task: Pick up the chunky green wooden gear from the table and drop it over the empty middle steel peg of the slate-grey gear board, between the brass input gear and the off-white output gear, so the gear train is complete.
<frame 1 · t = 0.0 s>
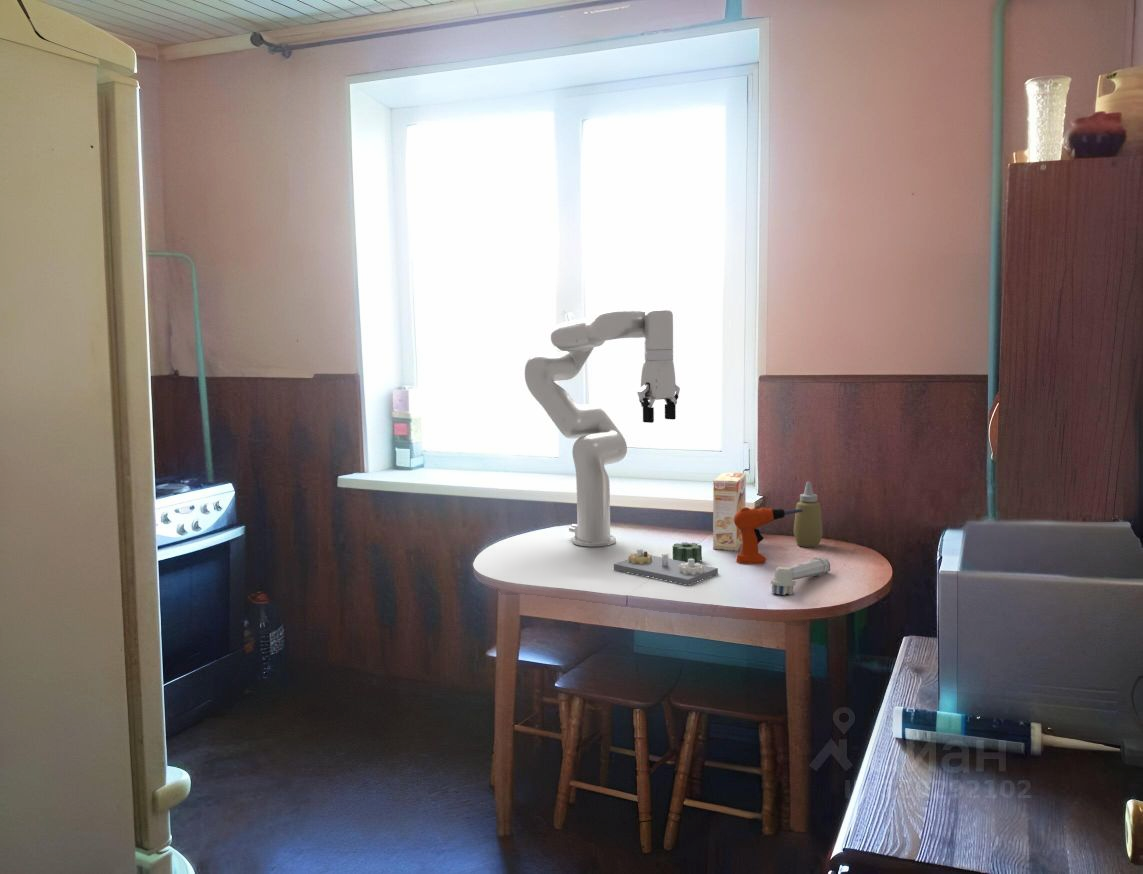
hand: (659, 420, 237), 37 cm above the table, tool pointing down, fingers open, 9 cm apart
toy drill: (768, 562, 233), on the table
gear board: (665, 571, 224), on the table
squeeze bottle: (807, 546, 249), on the table
coffeecake box: (729, 544, 252), on the table
toothbrush head: (801, 585, 212), on the table
idler gear: (687, 560, 235), on the table
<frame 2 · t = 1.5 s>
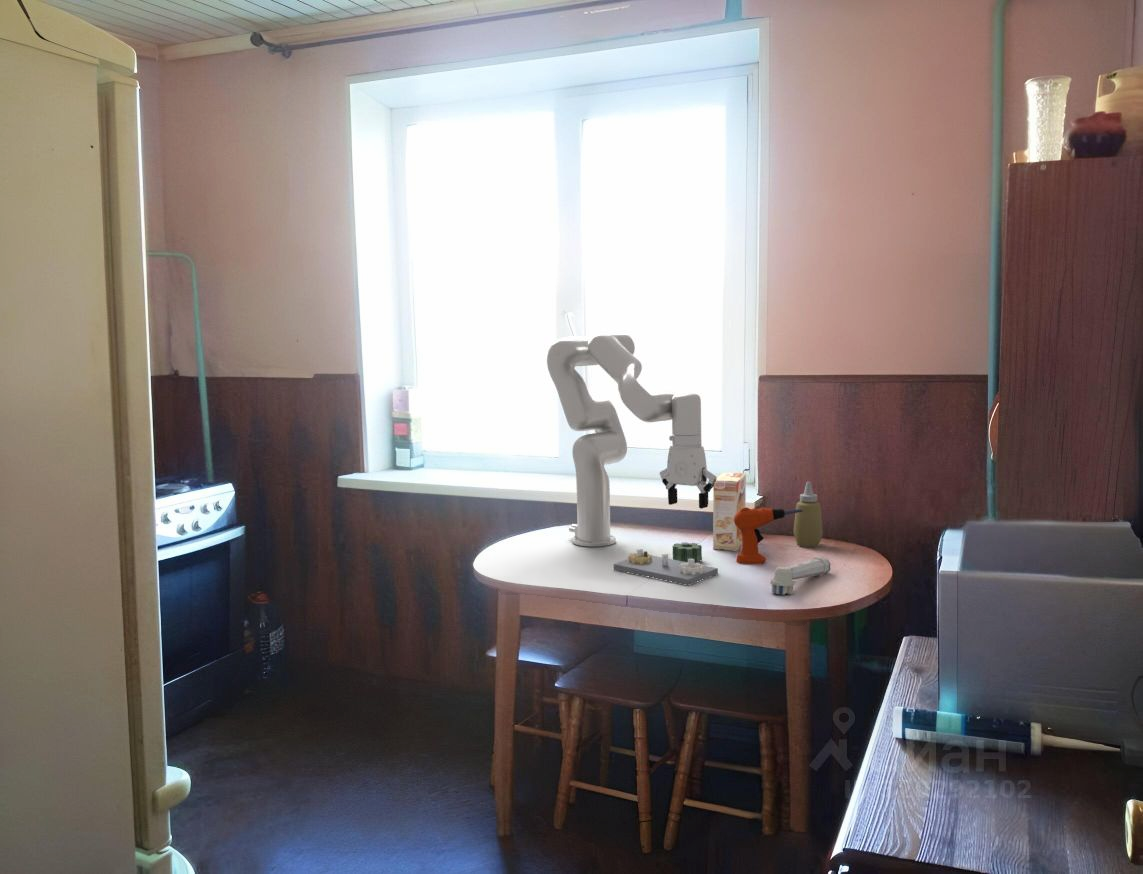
hand: (688, 505, 233), 15 cm above the table, tool pointing down, fingers open, 9 cm apart
nothing on the table moved.
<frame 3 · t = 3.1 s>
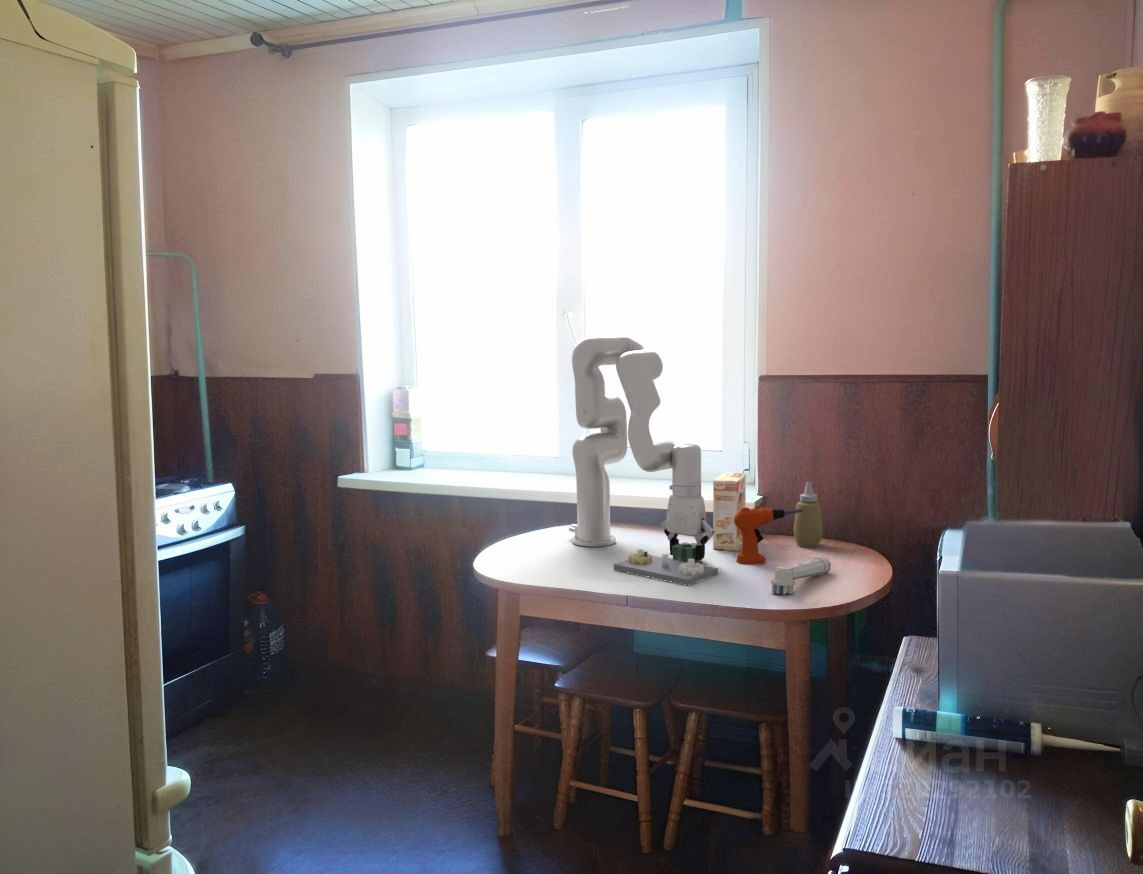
hand: (687, 556, 235), 1 cm above the table, tool pointing down, fingers closed on idler gear, 7 cm apart
idler gear: (687, 560, 235), on the table, touching gripper
everything else where it was.
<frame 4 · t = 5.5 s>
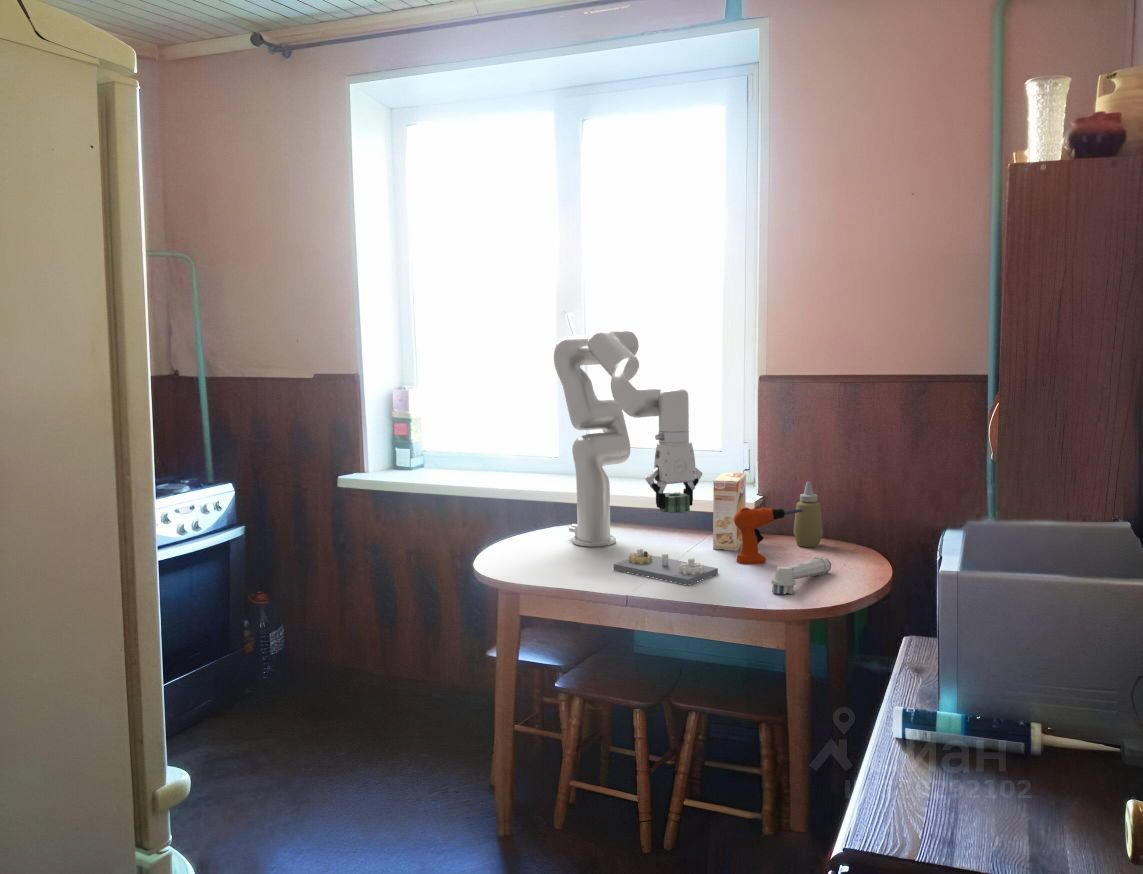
hand: (674, 506, 226), 16 cm above the table, tool pointing down, fingers closed on idler gear, 7 cm apart
idler gear: (674, 510, 227), point 15 cm above the table, touching gripper
everything else where it was.
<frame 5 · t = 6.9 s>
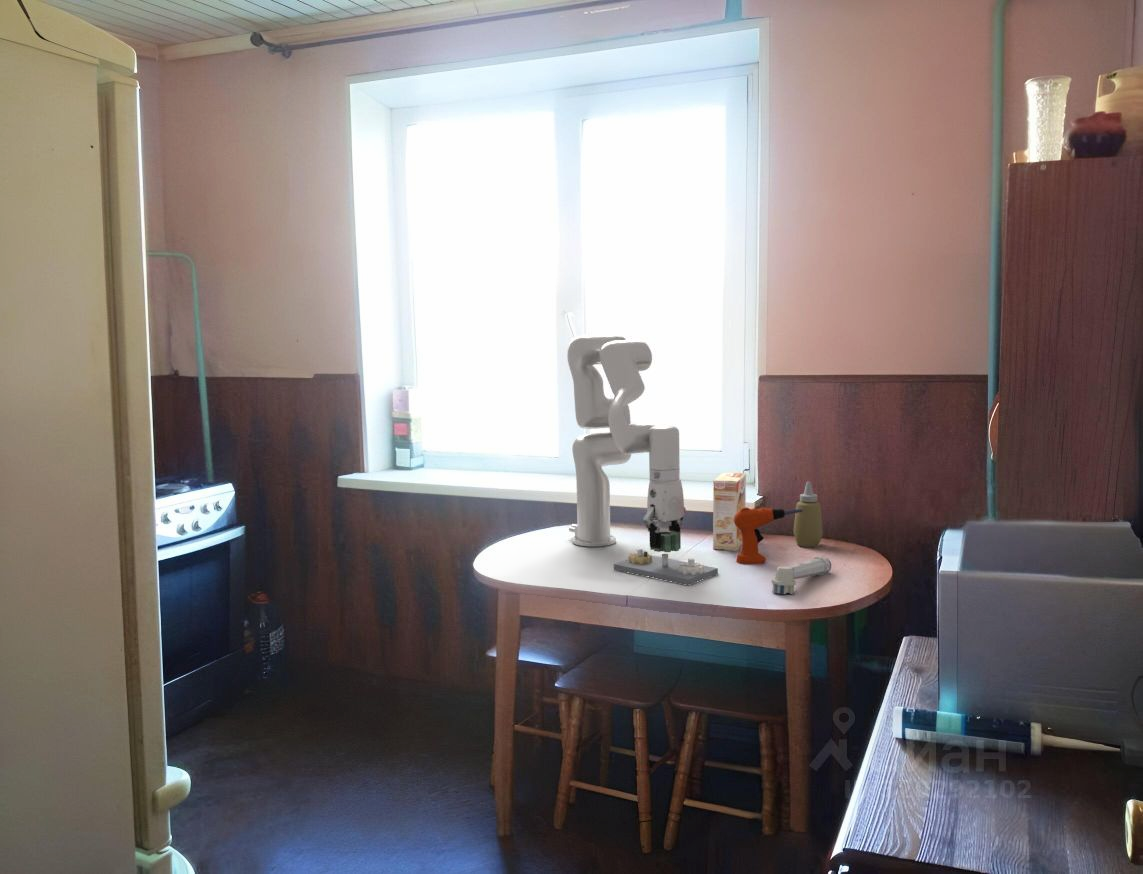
hand: (665, 544, 223), 7 cm above the table, tool pointing down, fingers closed on idler gear, 7 cm apart
idler gear: (665, 548, 223), point 6 cm above the table, touching gripper
everything else where it was.
when the fingers open (4 cm above the table, at t = 8.1 s): idler gear drops 1 cm, resting on gear board.
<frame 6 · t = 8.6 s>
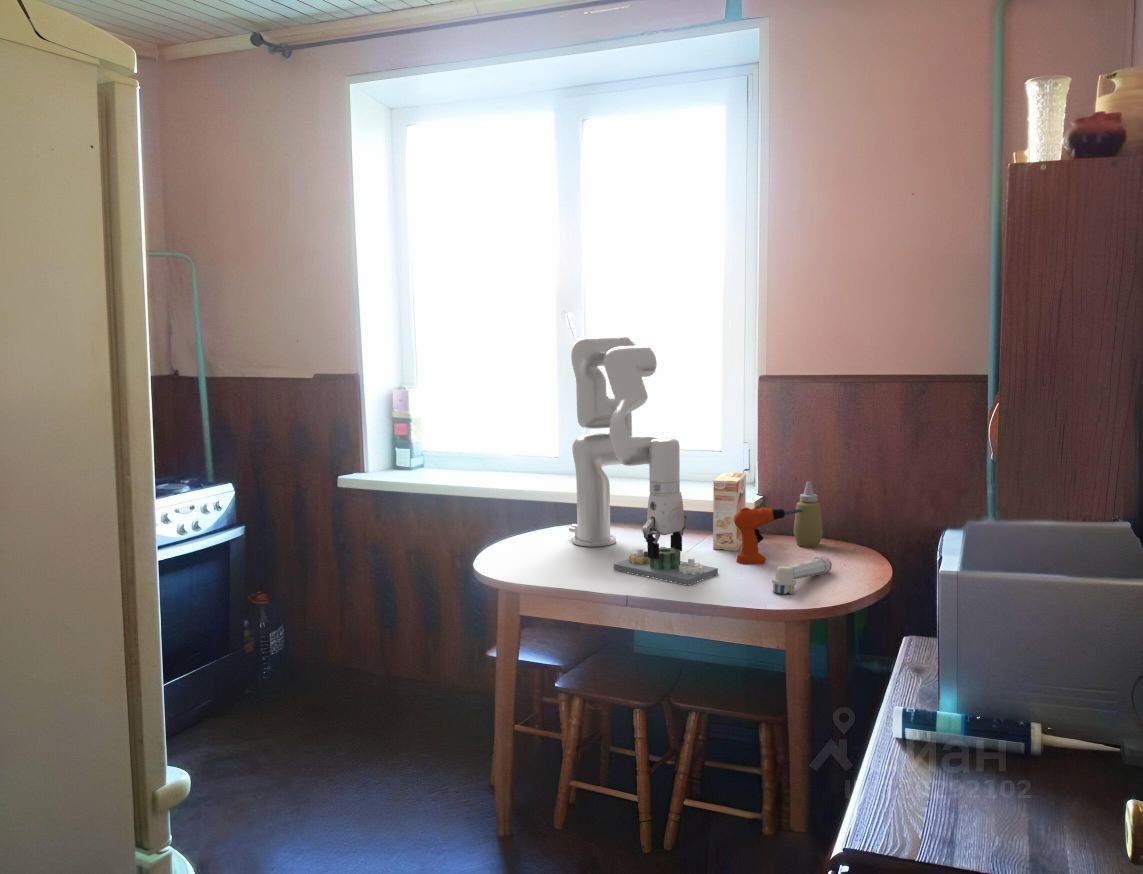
hand: (665, 554, 224), 5 cm above the table, tool pointing down, fingers open, 9 cm apart
idler gear: (665, 566, 224), point 1 cm above the table, touching gear board
everything else where it was.
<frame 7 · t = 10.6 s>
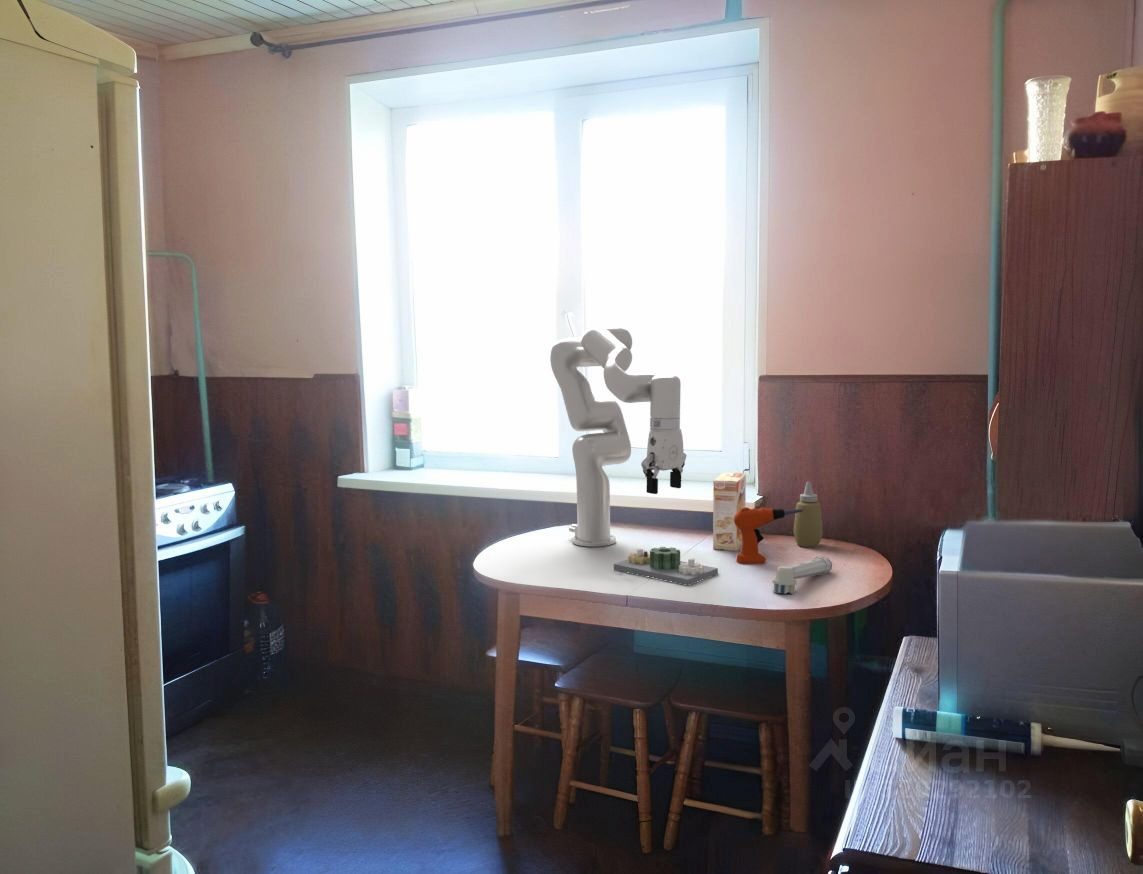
hand: (664, 490, 227), 20 cm above the table, tool pointing down, fingers open, 9 cm apart
nothing on the table moved.
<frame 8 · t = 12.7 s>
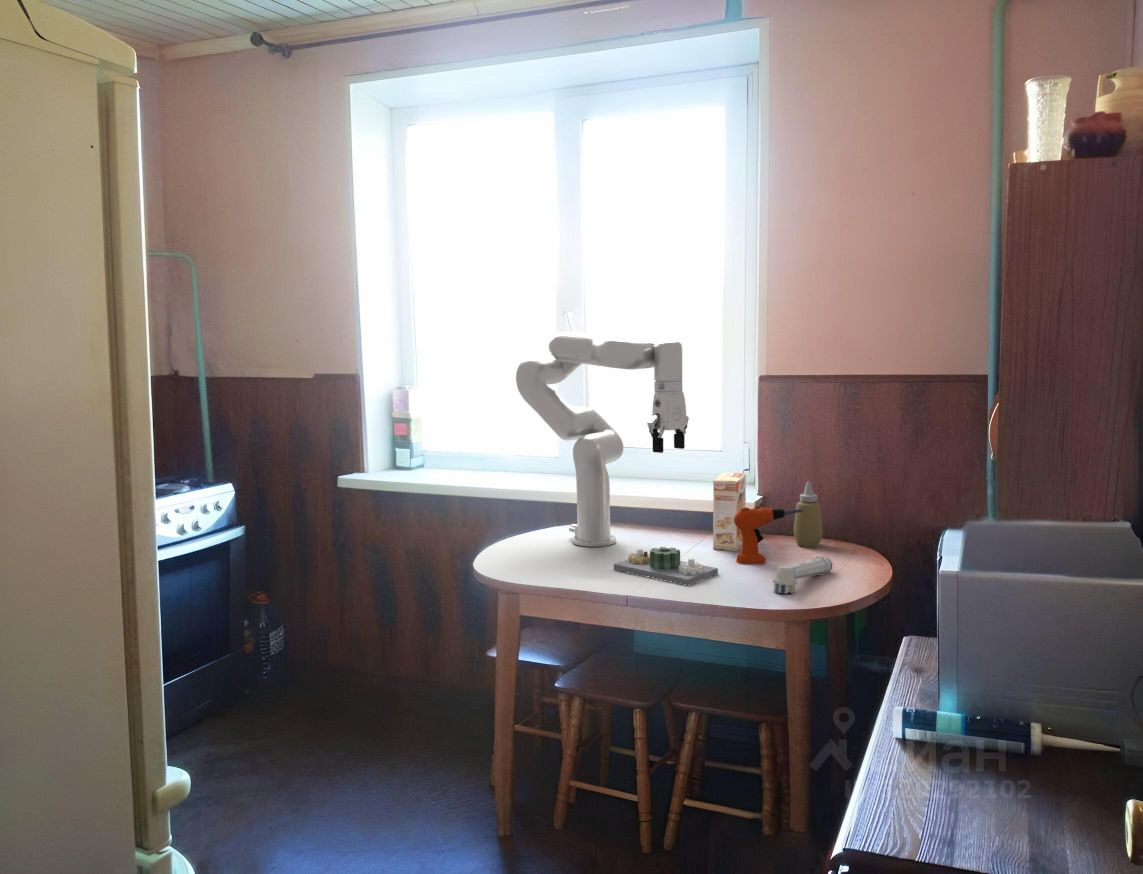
hand: (668, 450, 241), 28 cm above the table, tool pointing down, fingers open, 9 cm apart
at the end: idler gear 0.0 cm from the gear board (horizontally); idler gear point 1.5 cm above the table; the gripper is holding nothing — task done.
